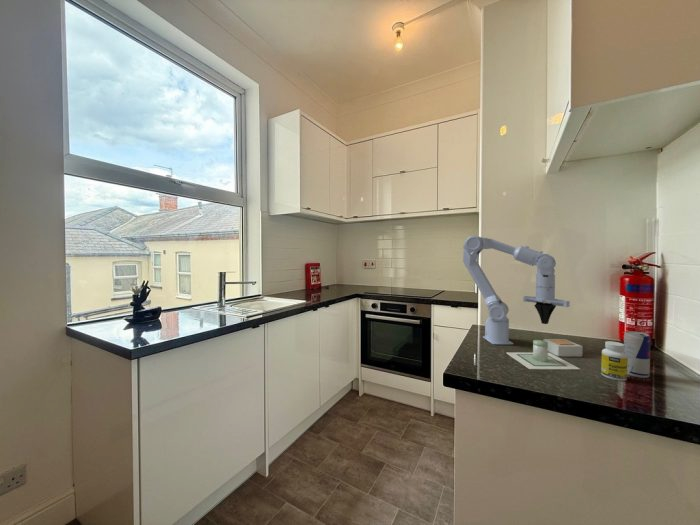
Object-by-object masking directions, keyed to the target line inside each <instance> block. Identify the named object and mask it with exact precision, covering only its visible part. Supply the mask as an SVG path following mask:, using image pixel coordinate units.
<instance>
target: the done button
mask: <svg viewBox="0 0 700 525" xmlns="http://www.w3.org/2000/svg"><path fill="white" fill-rule="evenodd" d="M566 340H567V339H566ZM566 340H551V341H552V342H554V343H556V344H558V345H574V344H573V343H574V342H573V343H571V342H572V341H571V342H568V341H566Z"/></svg>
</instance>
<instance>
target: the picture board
mask: <svg viewBox="0 0 700 525" xmlns="http://www.w3.org/2000/svg"><path fill="white" fill-rule="evenodd" d="M505 353H506V354H507V356H510V357H511V358H512V359H514V360H515V361H516V362H518V363H520V364H521V365H523V366H524V367H526V368H527V369H529V370H538V371H539V370H543V371H544V370H546V371H547V370H548V371H549V370H553V371H554V370H555V371H557V370H559V371H560V370H566V371H567V370H569V371H570V370H571V371H572V370H575V371H577V370H578V371H579V370H581V368H580V367H577V366H576V365H574V364H572V363H570V362H568V361H566V360H564V359H562V358H560V356H557V355H555V354H553V353H551V352H548V361H547V362H539V361H536V360H534V359H533V352H505Z"/></svg>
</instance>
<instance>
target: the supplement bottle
mask: <svg viewBox="0 0 700 525" xmlns="http://www.w3.org/2000/svg"><path fill="white" fill-rule="evenodd" d="M604 343H605V344H604V347H605V348H603V349H602V350H601V366H600V367H601V368H600V373H601V375H602V376H603V377H604V378H606V379H609V380H612V381H613V380H614V381H619V382H621V381H622V382H624V381H627V379H628V374H627V363H628V355H627V354H626V353H625V352H624V349H625V345H624V343H621V342H618V341H611V340H610V341H609V340H608V341H605V342H604Z"/></svg>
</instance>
